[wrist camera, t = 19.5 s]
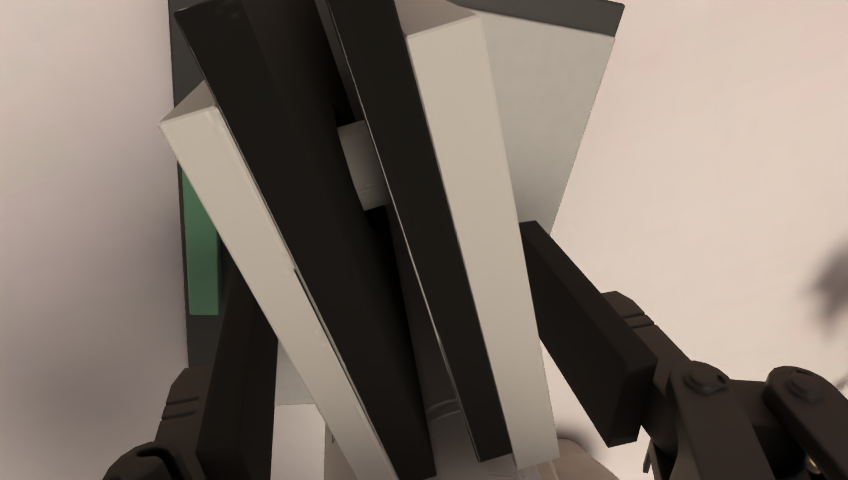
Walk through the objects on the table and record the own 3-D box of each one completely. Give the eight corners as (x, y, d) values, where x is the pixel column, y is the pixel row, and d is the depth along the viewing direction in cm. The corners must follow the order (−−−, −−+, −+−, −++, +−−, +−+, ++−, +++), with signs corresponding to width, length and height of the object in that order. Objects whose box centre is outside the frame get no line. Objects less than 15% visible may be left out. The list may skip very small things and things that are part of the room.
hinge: (318, 661, 11) (328, 354, 20) (546, 618, 12) (459, 338, 20) (87, -43, 4) (258, -45, 13) (677, -65, 5) (461, -52, 13)
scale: (200, 366, 23) (186, 426, 20) (181, -88, 15) (151, -98, 12) (480, 361, 27) (502, 412, 24) (589, -2, 19) (644, 7, 16)
